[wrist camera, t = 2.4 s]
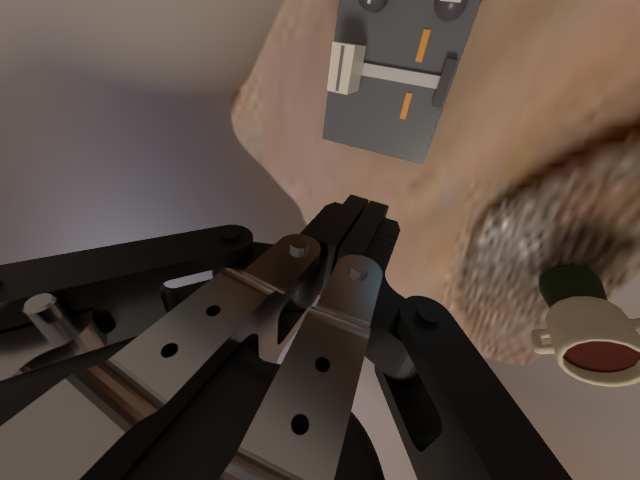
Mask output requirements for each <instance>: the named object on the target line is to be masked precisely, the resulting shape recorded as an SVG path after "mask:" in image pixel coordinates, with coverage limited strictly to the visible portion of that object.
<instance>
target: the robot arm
mask: <svg viewBox="0 0 640 480" xmlns="http://www.w3.org/2000/svg"><path fill="white" fill-rule="evenodd" d="M368 202H369V200H368V199H365V198H361V197H358V196H355V195H350V196H349V197H348V198H347V200H346V201H345V202H344V203H343V204H340V203H337V202H334V203H331V204H329V205H326V206H325V207H324V208H323V209H322V210H321V211H320V213H318V215H317V216H316V217H315V219H313V220H312V221H311V222H310V223H309V224H308V225H307V226H306V228H305V229H304V230H303V231H302V232H301V233H300V234H291V235H287V236H284V237H282V238H281V239H280V240H279V241H278V242H276V243H275V244H266V243H259V242H253V234H252V233H251V231H250V230H249V229H247V228H245V227H243V226H239V225H224V226H219V227H213V228H208V229H202V230H196V231H190V232H185V233H179V234H174V235H168V236H162V237H157V238H151V239H146V240H140V241H134V242H128V243H123V244H117V245H111V246H106V247H100V248H95V249H89V250H83V251H78V252H72V253H67V254H61V255H55V256H49V257H44V258H38V259H33V260H27V261H21V262H16V263H10V264H4V265H0V480H385V478H384V475H383V471H382V468H381V465H380V462H379V459H378V456H377V453H376V451H375V449H374V446H373V444H372V442H371V440H370V438H369V436H368V434H367V432H366V431H365V429H364V428H363V426H362V425H361V423H360V422H359V420H358V419H357V418H356V417H355V415H354V414H353V413H352V412H351V409H352V405H353V400H354V397H355V393H356V388H357V384H358V380H359V376H360V372H361V368H362V364H363V360H364V356H366V357H367V358H368V359H369V360H370V361H371V362H372V363H374V364H375V373H376V376H377V378H378V381H379V383H380V386H381V389H382V391H383V393H384V396H385V398H386V401H387V404H388V406H389V409H390V411H391V414H392V416H393V419H394V421H395V424H396V426H397V428H398V431H399V434H400V436H401V439H402V441H403V444H404V446H405V449H406V451H407V454H408V456H409V459H410V461H411V464H412V466H413V469H414V471H415V474H416V476H417V479H418V480H572V479H571V477H570V476H569V474H568V473H567V472H566V470H565V469H564V468H563V466H562V465H561V464H560V463H559V461H558V459H557V458H556V457H555V455H554V454H553V453H552V451H551V450H550V449H549V447H548V446H547V444H546V443H545V442H544V441H543V439H542V438H541V436H540V435H539V434H538V432H537V431H536V430H535V428H534V427H533V426H532V424H531V423H530V421H529V420H528V419H527V417H526V416H525V415H524V413H523V412H522V411H521V409H520V408H519V407H518V405H517V404H516V402H515V401H514V400H513V398H512V397H511V395H510V394H509V393H508V391H507V390H506V389H505V387H504V386H503V385H502V383H501V382H500V380H499V379H498V378H497V376H496V375H495V374H494V372H493V371H492V370H491V368H490V367H489V366H488V364H487V363H486V362H485V360H484V359H483V357H482V356H481V355H480V353H479V352H478V351H477V349H476V348H475V346H474V345H473V344H472V342H471V341H470V340H469V338H468V337H467V336H466V334H465V333H464V331H463V330H462V329H461V327H460V326H459V325H458V323H457V322H456V321H455V319H454V318H453V316H452V315H451V314H450V313H449V311H448V310H447V309H446V308H445V307H444V306H442V305H441V304H440V303H438V302H437V301H435V300H433V299H430V298H427V297H423V296H411V297H408V298H406V299H405V298H404V297H402V296H401V295H399V294H398V293H397V292H395V291H394V290H393V289H392V288H391V287H390V286H389V284H388V283H387V281H386V278H385V271H386V268H387V265H388V263H389V260H390V257H391V254H392V252H393V249H394V246H395V243H396V240H397V238H398V235H399V232H400V228H399V225H398V222H397V221H394V220H390V219H387V218H385V217H386V214H387V211H388V207H389V206H388V205H384V204H381V203H378V202H375V201H370V202H369V204H368ZM209 270H212V275H213V278H212V279H210V280H206V281H202V282H198V283H195V284H190V285H186V286H183V287H179V288H168V287H166V286H164V284H163V283H164V282H166V281H168V280H172V279H176V278H180V277H184V276H188V275H192V274H196V273H201V272H205V271H209ZM318 295H321V296H320V299H319V301H318V303H317V305H316V306H315V307H312V304H313V302H314V301H315V299H316V297H317V296H318ZM299 327H300V328H299ZM298 328H299V330H298ZM297 330H298V332H297V334H296V336H295V338H294V340H293V342H292V344H291V346H290V348H289V350H288V352H287V354H286V356H285V358H284V360H283V362H282V363H281V364H276V363H277V360H278V358H279V356H280V354H281V352H282V350H283V349H284V348H285V346H286V345H287V343H288V342H289V340H290V339H291V338H292V336H293V335H294V334H295V332H296V331H297Z"/></svg>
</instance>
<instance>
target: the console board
mask: <svg viewBox="0 0 640 480" xmlns="http://www.w3.org/2000/svg"><path fill="white" fill-rule="evenodd" d="M480 3H481V0H339V6H338V14H337V22H336V31H335V39H334V42H342V43H350V44H357V45H363V46H366V50H365V56H364V62H363V67H362V73H361V78H360V84H359V90H358V91H357V92H354V93H351V94H348V95H345V94H340V93H336V92H331V91H328V97H327V106H326V114H325V122H324V131H323V139H326V140H330V141H334V142H338V143H342V144H345V145H349V146H353V147H357V148H361V149H365V150H369V151H373V152H376V153H380V154H384V155H388V156H392V157H396V158H400V159H403V160H407V161H411V162H415V163H419V164H423V162H424V159H425V156H426V153H427V151H428V148H429V145H430V142H431V140H432V137H433V134H434V131H435V128H436V126H437V123H438V120H439V117H440V114H441V112H442V109H443V106H444V103H445V100H446V98H447V95H448V92H449V89H450V86H451V84H452V81H453V78H454V75H455V73H456V70H457V67H458V64H459V61H460V59H461V56H462V53H463V50H464V47H465V45H466V42H467V39H468V36H469V33H470V31H471V28H472V25H473V22H474V19H475V17H476V14H477V11H478V8H479V5H480Z"/></svg>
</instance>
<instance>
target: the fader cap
mask: <svg viewBox="0 0 640 480" xmlns="http://www.w3.org/2000/svg"><path fill="white" fill-rule="evenodd" d="M365 50H366V46H363V45H357V44H350V43H342V42H333V43H332V51H331V60H330V68H329V77H328V85H327V91H331V92H336V93H340V94H345V95H348V94H351V93H354V92H357V91H358V90H359V84H360V78H361V73H362V67H363V62H364V56H365Z"/></svg>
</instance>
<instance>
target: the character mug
mask: <svg viewBox="0 0 640 480" xmlns="http://www.w3.org/2000/svg"><path fill="white" fill-rule="evenodd" d="M539 287H540V292H541V294H542V296H543V298H544V300H545V301H546V303H547V305H548V306H549V308H550V309H549V311H548V313H547V316H546V323H547V328H548V329H539V330H533V331H531V335H530V336H531V341H532V345H533V349H534V351H535V352H536V353H538V354H554V353H555V355H556V358H557V362H558V364H559V366H560V367H561V368H562V369H563V370H564V371H565V372H566V373H568V374H569V375H571V376H573V377H574V378H576V379H578V380H580V381H584V382H587V383H590V384H594V385H600V386H609V387H618V386H626V385H632V384H635V383H638V382H640V336H639V334H638V332H637V331H636V329H640V318H637V319H629V318H628V317H627V315H625V313H624V312H623V311H622V310H621V309H620V308H619V307H618V306H616V305H614V304H612V303H611V302H609V301H607V298H606V294H605V291H604V288H603V285H602V282H601V280H600V279H599V277H598V276H597V275H596V274H595V273H594V272H592V271H590V270H588V269H585V268H583V267H578V266H568V265H566V266H561V267H557V268H553V269H551V270H550V271H548V272H547V273H545V274H544V275H543V277H542V278H541V280H540V282H539ZM547 337H550V338H551V342H552V344H548V345H542V342H541V338H547Z"/></svg>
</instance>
